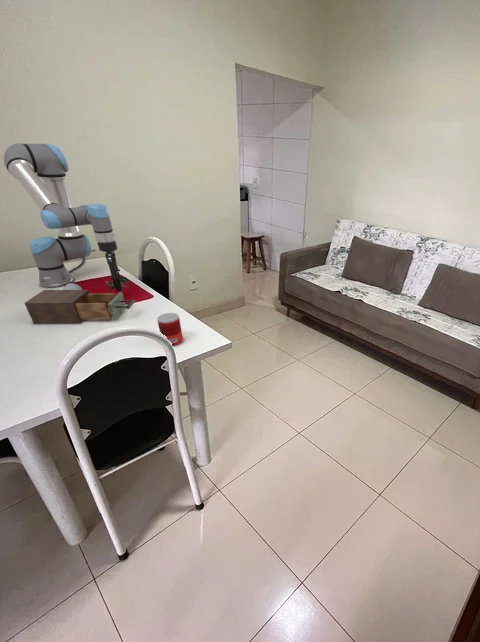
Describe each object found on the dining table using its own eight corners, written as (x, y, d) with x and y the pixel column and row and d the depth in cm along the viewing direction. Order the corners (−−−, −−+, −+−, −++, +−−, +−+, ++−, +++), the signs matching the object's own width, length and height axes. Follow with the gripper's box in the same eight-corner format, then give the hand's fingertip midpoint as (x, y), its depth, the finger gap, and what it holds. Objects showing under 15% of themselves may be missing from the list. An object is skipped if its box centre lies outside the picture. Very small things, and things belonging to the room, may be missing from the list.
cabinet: (94, 309, 152) (88, 289, 147) (80, 323, 140) (72, 302, 135) (52, 309, 150) (44, 289, 145) (33, 324, 139) (24, 303, 133)
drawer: (139, 307, 153) (135, 292, 149) (130, 320, 142) (125, 304, 138) (87, 308, 151) (81, 292, 147) (73, 321, 140) (66, 304, 136)
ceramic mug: (63, 304, 155) (57, 289, 151) (67, 298, 162) (62, 283, 158) (88, 303, 158) (83, 288, 154) (91, 296, 165) (87, 282, 161)
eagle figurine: (117, 292, 156) (132, 283, 162) (106, 279, 153) (122, 271, 159) (112, 296, 161) (127, 288, 167) (102, 284, 159) (117, 276, 164)
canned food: (187, 338, 133) (182, 314, 127) (174, 348, 126) (169, 323, 120) (171, 335, 135) (166, 311, 129) (158, 344, 128) (152, 319, 122)
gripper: (115, 246, 142) (128, 295, 155) (115, 235, 158) (127, 279, 170) (95, 248, 139) (110, 297, 152) (98, 236, 155) (111, 281, 167)
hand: (119, 287), depth 161 cm, fingers closed on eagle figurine, 8 cm apart
